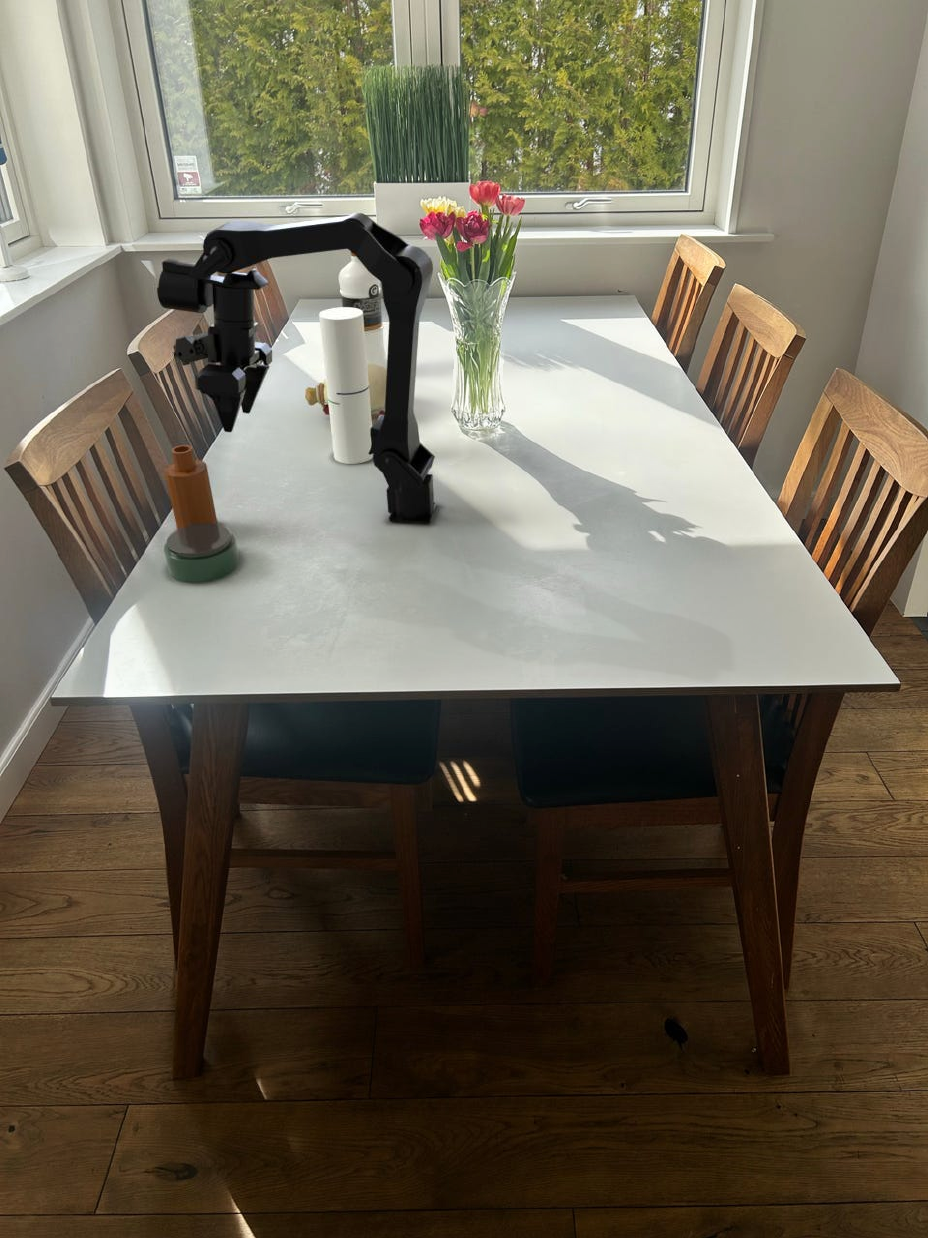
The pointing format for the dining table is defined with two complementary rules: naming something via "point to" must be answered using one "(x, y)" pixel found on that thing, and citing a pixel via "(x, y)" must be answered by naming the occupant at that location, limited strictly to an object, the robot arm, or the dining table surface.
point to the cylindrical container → (347, 383)
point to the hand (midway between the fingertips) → (237, 421)
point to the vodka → (365, 306)
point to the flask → (375, 390)
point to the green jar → (201, 553)
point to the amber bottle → (189, 489)
